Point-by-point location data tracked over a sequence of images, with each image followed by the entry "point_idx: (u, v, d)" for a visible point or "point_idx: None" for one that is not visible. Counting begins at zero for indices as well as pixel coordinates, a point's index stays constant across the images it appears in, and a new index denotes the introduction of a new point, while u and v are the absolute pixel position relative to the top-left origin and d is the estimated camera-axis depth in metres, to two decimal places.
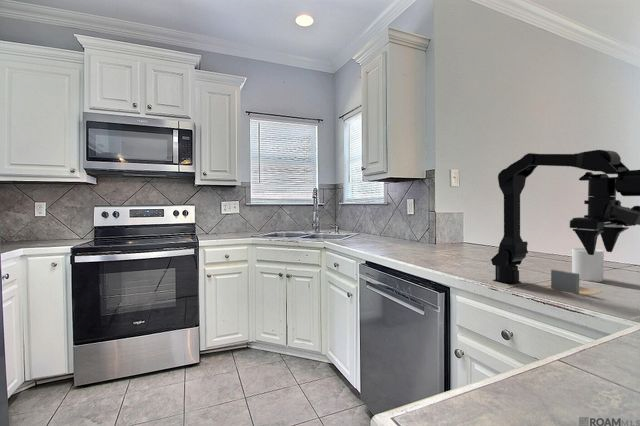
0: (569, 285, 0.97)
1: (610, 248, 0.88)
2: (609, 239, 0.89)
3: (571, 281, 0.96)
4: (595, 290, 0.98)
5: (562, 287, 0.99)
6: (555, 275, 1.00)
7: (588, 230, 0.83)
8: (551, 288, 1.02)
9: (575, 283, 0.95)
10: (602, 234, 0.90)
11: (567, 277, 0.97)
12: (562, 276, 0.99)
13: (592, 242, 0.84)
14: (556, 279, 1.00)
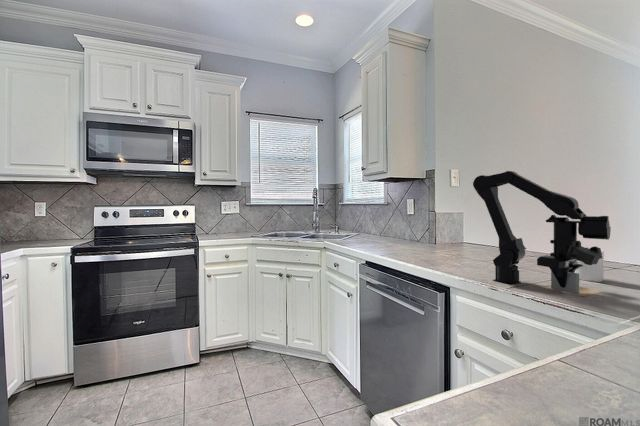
0: (569, 285, 0.97)
1: None
2: None
3: (571, 281, 0.96)
4: (595, 290, 0.98)
5: (562, 287, 0.99)
6: None
7: None
8: (551, 288, 1.02)
9: (575, 283, 0.95)
10: None
11: (567, 277, 0.97)
12: None
13: (563, 277, 0.97)
14: (556, 279, 1.00)
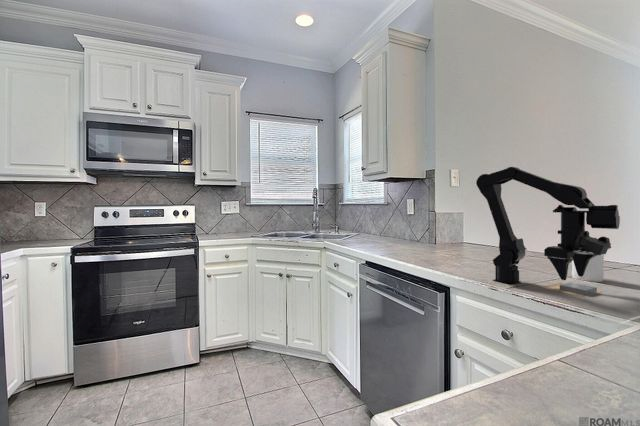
0: None
1: (581, 273, 0.99)
2: (581, 265, 0.99)
3: None
4: None
5: None
6: None
7: (560, 258, 0.93)
8: (551, 288, 1.02)
9: (590, 294, 0.95)
10: (574, 260, 1.01)
11: None
12: None
13: (564, 269, 0.94)
14: None
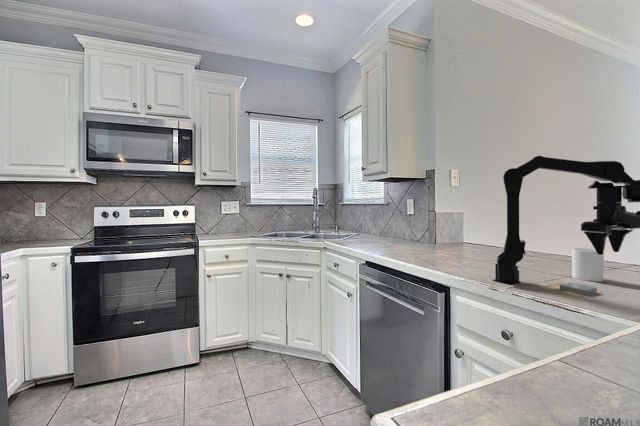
0: None
1: (617, 248, 0.99)
2: (616, 240, 1.00)
3: None
4: None
5: None
6: None
7: (598, 232, 0.93)
8: (551, 288, 1.02)
9: (590, 294, 0.95)
10: (609, 236, 1.01)
11: None
12: None
13: (601, 243, 0.95)
14: None
